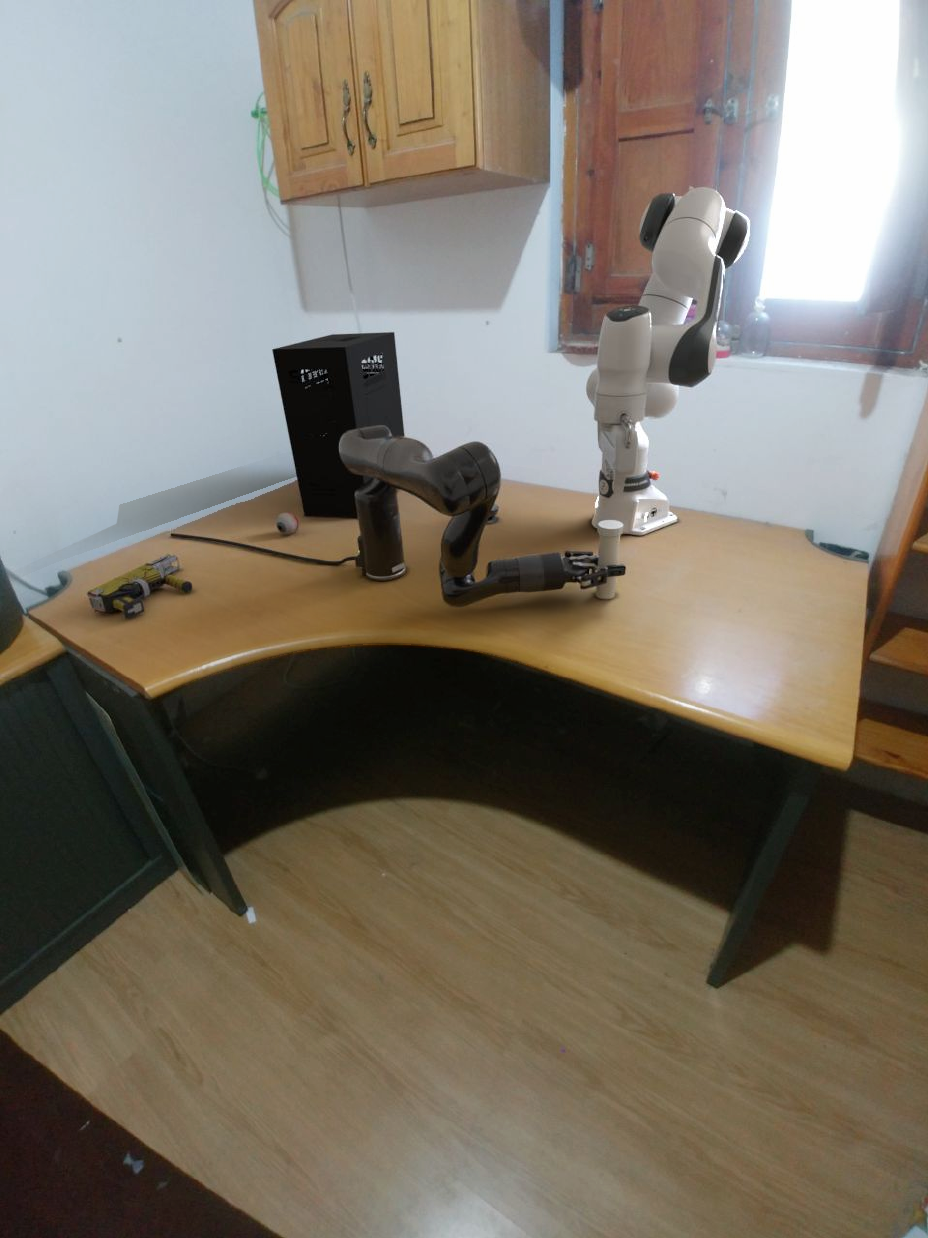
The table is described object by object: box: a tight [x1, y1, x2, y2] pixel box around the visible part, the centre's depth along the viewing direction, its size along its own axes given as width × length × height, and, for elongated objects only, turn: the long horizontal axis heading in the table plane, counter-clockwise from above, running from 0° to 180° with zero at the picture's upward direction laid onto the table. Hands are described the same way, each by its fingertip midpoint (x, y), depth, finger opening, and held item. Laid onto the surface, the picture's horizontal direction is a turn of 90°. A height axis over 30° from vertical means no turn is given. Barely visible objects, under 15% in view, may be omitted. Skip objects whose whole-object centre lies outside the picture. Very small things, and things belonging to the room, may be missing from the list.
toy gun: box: [86, 553, 193, 620], centre depth 136 cm, size 5×24×15 cm
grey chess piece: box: [486, 503, 500, 524], centre depth 164 cm, size 6×6×12 cm
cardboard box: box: [271, 331, 406, 519], centre depth 180 cm, size 38×20×45 cm, turn 167°
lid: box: [596, 520, 624, 537], centre depth 119 cm, size 5×5×2 cm
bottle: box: [595, 534, 621, 600], centre depth 122 cm, size 4×4×15 cm
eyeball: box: [275, 511, 300, 536], centre depth 163 cm, size 6×6×6 cm
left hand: (620, 564), depth 123 cm, fingers closed on bottle, 4 cm apart
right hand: (613, 485), depth 114 cm, fingers open, 7 cm apart
